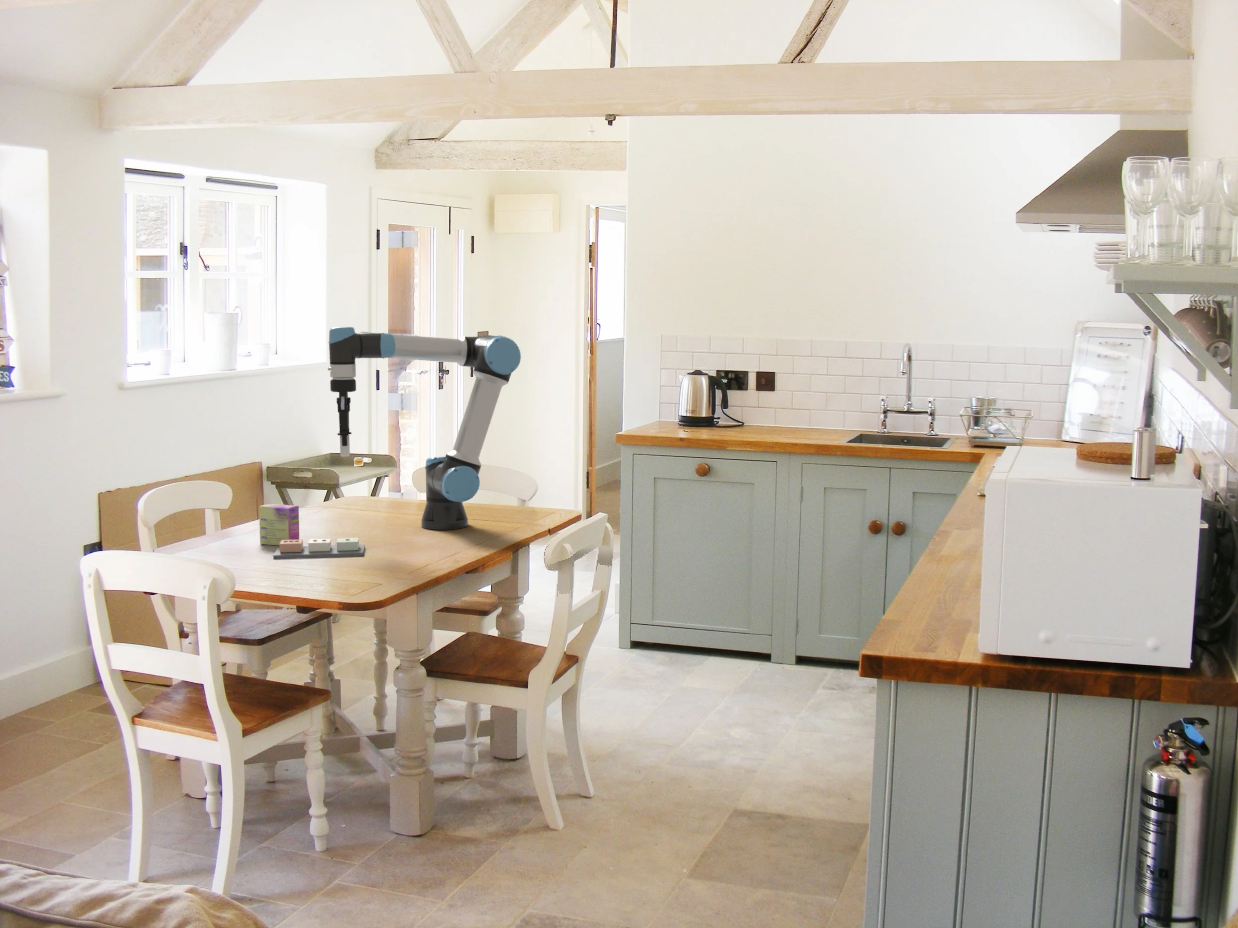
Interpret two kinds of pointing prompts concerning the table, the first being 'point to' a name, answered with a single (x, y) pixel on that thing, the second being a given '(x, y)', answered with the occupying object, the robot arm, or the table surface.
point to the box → (278, 523)
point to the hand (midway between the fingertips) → (345, 456)
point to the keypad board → (319, 553)
